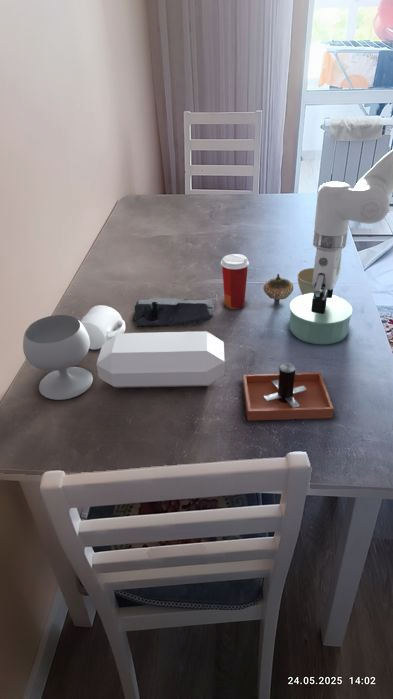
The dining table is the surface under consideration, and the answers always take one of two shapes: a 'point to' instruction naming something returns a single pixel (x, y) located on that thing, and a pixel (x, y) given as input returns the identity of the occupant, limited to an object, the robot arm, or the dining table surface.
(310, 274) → the flower pot
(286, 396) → the blade
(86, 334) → the chalice
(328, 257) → the robot arm
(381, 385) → the dining table surface
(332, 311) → the lid
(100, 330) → the mug
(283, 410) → the tray
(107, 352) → the crystal
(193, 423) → the dining table surface
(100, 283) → the dining table surface
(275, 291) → the acorn
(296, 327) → the bowl
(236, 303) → the paper cup
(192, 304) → the dark slate chunk
